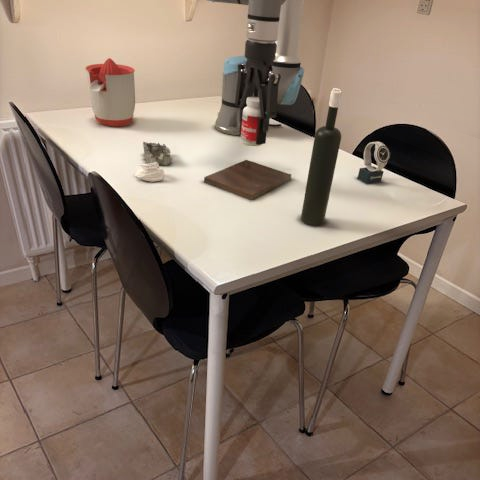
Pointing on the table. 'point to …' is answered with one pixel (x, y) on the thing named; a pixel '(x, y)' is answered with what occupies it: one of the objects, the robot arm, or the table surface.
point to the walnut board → (247, 179)
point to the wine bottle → (322, 166)
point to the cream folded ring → (150, 172)
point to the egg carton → (156, 153)
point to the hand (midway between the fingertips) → (252, 139)
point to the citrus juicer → (112, 93)
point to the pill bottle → (250, 121)
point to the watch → (370, 172)
